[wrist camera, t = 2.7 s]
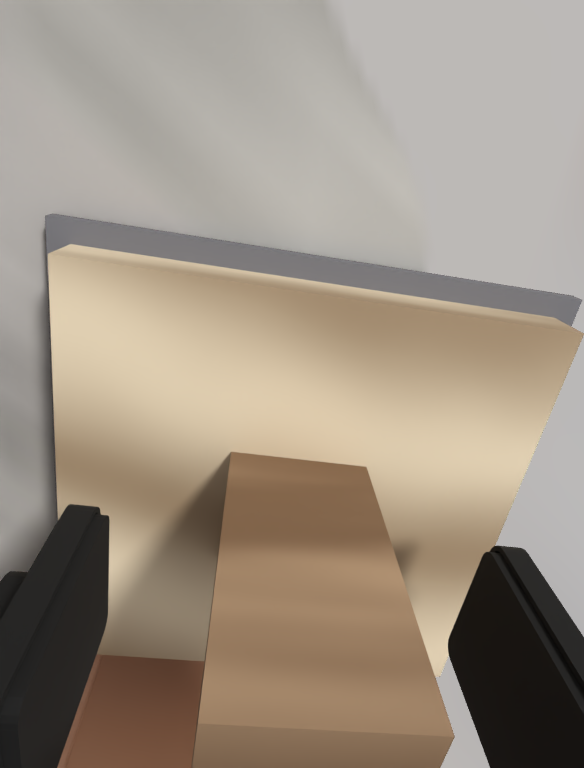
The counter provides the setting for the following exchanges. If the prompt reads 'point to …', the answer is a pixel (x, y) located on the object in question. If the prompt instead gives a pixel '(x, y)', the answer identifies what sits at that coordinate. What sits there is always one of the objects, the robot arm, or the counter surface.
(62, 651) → the robot arm
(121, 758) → the bowl
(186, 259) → the mat
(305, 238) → the counter surface
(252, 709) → the lid
